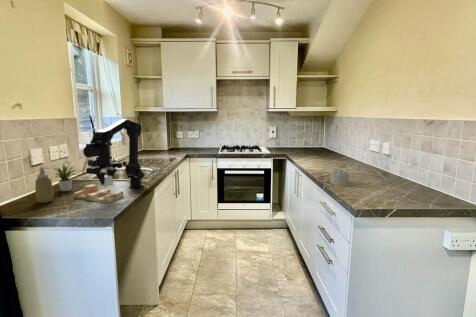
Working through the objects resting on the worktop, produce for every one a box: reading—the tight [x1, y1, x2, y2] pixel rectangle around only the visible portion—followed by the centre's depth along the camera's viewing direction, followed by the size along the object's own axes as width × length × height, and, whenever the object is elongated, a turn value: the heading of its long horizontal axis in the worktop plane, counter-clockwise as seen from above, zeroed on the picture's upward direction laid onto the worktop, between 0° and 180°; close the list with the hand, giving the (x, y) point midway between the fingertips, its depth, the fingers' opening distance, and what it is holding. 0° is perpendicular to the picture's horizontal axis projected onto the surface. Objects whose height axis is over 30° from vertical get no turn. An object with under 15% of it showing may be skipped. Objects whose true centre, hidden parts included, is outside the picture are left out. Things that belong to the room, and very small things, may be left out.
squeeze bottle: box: [35, 167, 55, 204], centre depth 143 cm, size 8×8×18 cm
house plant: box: [52, 163, 77, 192], centre depth 164 cm, size 14×14×16 cm
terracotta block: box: [83, 183, 98, 195], centre depth 154 cm, size 4×4×5 cm
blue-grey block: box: [98, 174, 114, 188], centre depth 148 cm, size 4×4×5 cm
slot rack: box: [74, 188, 124, 204], centre depth 152 cm, size 12×23×3 cm, turn 67°
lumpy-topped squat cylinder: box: [329, 169, 350, 187], centre depth 180 cm, size 10×13×9 cm
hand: (106, 183), depth 148 cm, fingers closed on blue-grey block, 4 cm apart
